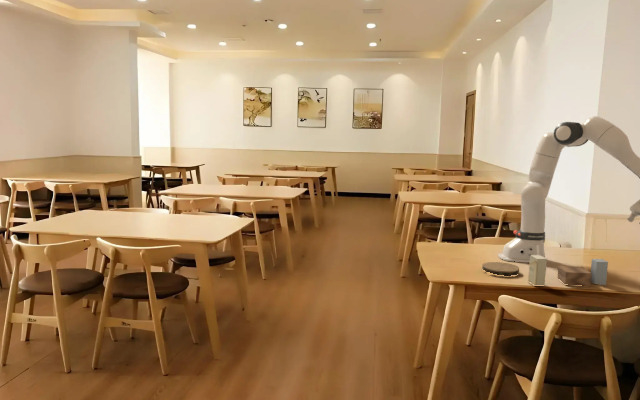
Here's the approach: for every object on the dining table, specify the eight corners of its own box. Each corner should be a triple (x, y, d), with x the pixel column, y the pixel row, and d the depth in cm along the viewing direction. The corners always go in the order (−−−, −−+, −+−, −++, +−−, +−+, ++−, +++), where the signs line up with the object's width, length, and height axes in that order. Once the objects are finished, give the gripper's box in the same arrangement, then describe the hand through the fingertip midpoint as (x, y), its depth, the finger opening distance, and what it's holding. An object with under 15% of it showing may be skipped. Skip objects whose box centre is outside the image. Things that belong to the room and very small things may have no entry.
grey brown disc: (516, 279, 218) (516, 273, 218) (478, 274, 226) (479, 268, 226) (521, 271, 232) (521, 264, 232) (485, 266, 240) (486, 260, 239)
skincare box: (527, 282, 213) (529, 254, 212) (537, 282, 214) (539, 254, 212) (535, 287, 207) (537, 258, 205) (545, 287, 207) (547, 258, 206)
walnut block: (564, 286, 210) (565, 272, 209) (557, 279, 219) (558, 265, 219) (590, 287, 208) (591, 273, 207) (581, 280, 218) (582, 266, 217)
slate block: (594, 284, 211) (596, 261, 210) (590, 281, 215) (591, 258, 214) (605, 285, 211) (608, 261, 209) (600, 281, 215) (602, 259, 214)
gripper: (641, 191, 217) (617, 213, 219) (670, 197, 197) (643, 221, 199) (652, 201, 217) (627, 223, 219) (682, 208, 197) (654, 232, 199)
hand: (634, 222), depth 209 cm, fingers open, 8 cm apart
